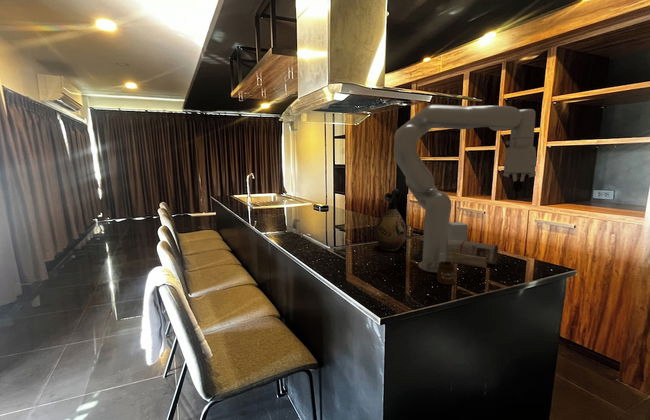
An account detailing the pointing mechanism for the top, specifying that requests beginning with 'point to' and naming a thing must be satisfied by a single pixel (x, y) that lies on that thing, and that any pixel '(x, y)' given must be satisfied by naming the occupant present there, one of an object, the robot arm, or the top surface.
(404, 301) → the top surface
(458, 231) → the supplement box
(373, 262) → the top surface
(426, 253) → the robot arm
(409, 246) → the top surface
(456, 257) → the u-rest
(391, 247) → the ceramic jug
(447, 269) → the utensil holder
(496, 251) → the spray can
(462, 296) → the top surface
